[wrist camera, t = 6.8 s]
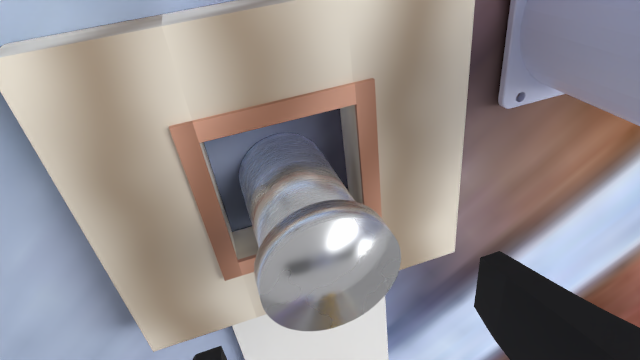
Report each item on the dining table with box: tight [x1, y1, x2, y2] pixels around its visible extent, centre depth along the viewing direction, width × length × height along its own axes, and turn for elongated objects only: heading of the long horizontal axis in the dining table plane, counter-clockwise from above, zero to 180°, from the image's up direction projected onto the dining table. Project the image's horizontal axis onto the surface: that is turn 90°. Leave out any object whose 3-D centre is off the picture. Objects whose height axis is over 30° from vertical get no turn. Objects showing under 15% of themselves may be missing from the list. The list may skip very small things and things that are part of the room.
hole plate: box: [0, 0, 475, 352], centre depth 18 cm, size 16×14×2 cm
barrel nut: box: [239, 133, 401, 331], centre depth 16 cm, size 5×5×7 cm
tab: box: [232, 296, 388, 360], centre depth 26 cm, size 9×9×1 cm
